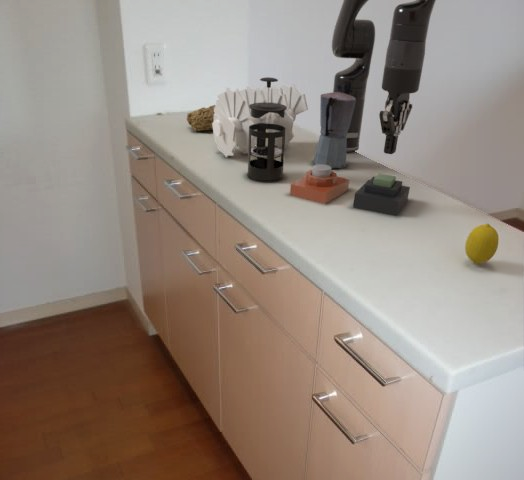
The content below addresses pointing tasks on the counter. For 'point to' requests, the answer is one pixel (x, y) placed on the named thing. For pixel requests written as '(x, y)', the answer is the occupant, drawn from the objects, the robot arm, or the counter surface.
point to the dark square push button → (381, 198)
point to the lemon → (481, 243)
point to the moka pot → (334, 128)
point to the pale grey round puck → (321, 171)
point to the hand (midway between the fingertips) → (389, 152)
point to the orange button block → (319, 187)
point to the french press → (268, 167)
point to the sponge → (201, 118)
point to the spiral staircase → (239, 117)
